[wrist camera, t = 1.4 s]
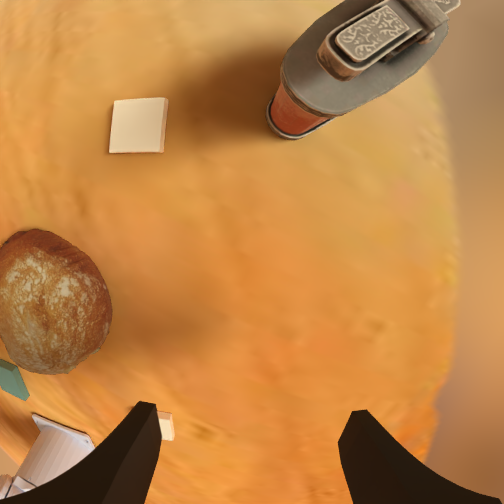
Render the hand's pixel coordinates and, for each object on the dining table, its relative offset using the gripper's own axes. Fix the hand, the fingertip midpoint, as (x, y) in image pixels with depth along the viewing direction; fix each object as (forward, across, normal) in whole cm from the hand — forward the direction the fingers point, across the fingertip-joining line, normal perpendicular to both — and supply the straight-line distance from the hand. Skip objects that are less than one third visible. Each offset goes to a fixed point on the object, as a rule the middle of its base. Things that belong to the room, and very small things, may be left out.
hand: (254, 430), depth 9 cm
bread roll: (+9, +14, 0) cm, 17 cm away
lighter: (+9, -3, -14) cm, 17 cm away
